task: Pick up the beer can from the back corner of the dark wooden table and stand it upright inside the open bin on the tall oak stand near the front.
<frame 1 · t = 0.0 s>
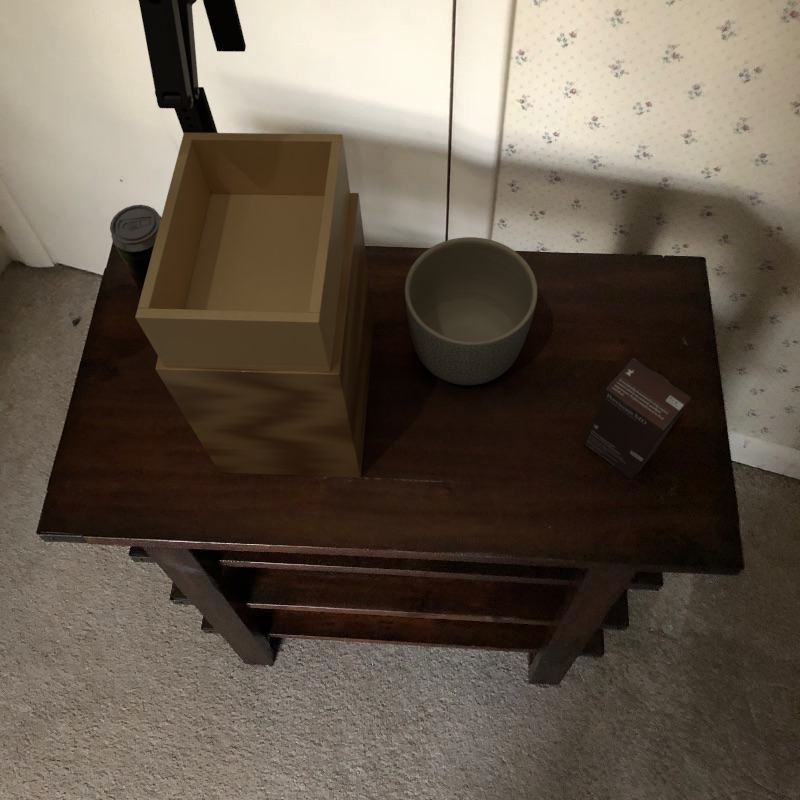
hand: (219, 98, 70), 21 cm above the table, tool pointing down, fingers open, 13 cm apart
planter: (466, 351, 81), on the table
open bin: (263, 275, 61), resting on stand
box: (617, 450, 75), on the table
stand: (300, 394, 79), on the table
beer can: (171, 297, 86), on the table
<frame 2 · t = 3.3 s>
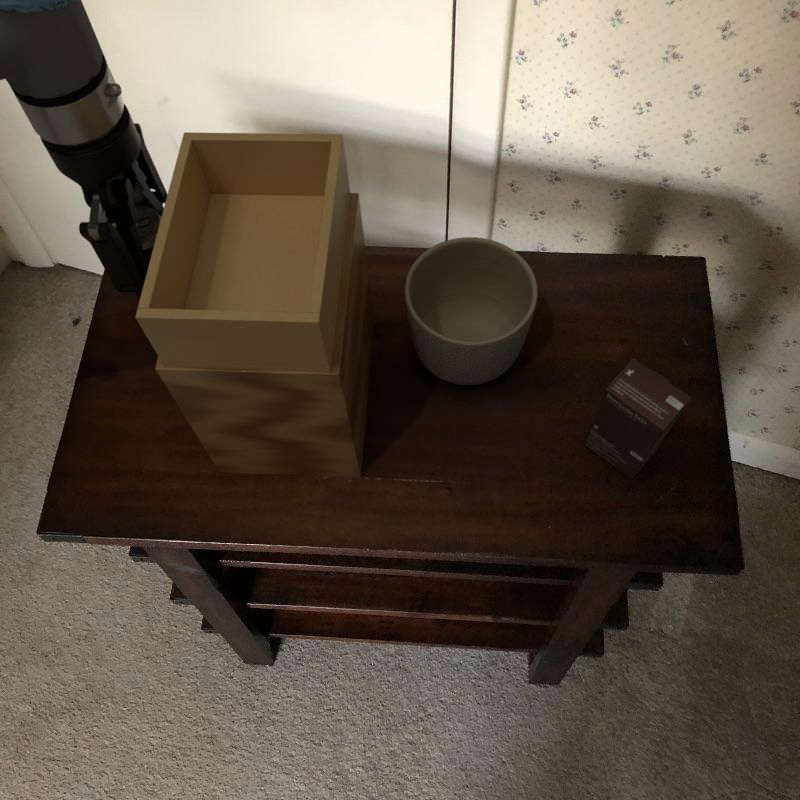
hand: (166, 286, 84), 2 cm above the table, tool pointing down, fingers closed on beer can, 5 cm apart
beer can: (171, 297, 86), on the table, touching gripper
everything else where it was.
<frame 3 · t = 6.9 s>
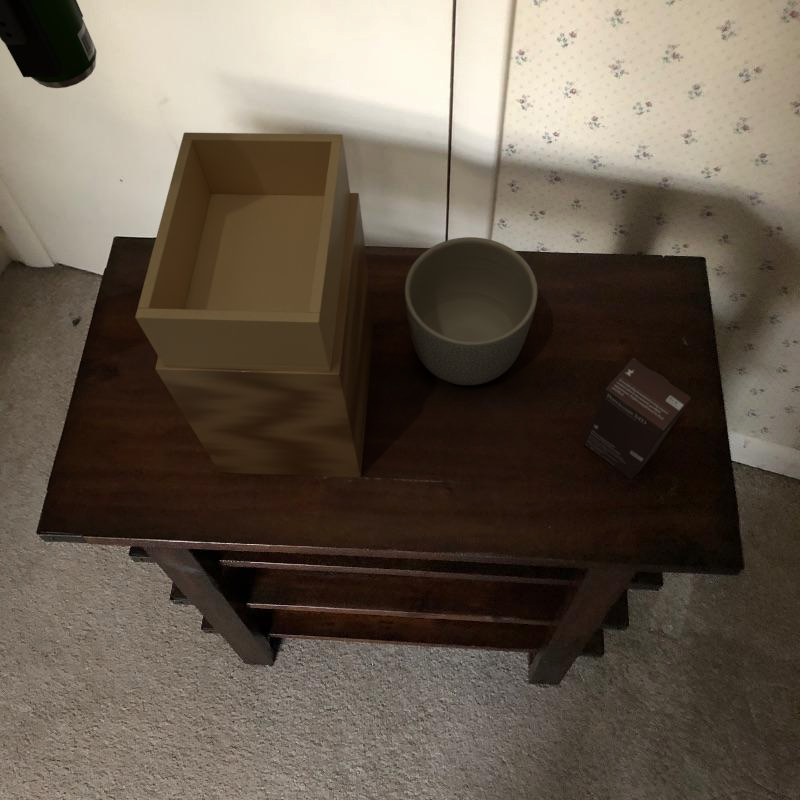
hand: (53, 45, 56), 33 cm above the table, tool pointing down, fingers closed on beer can, 5 cm apart
beer can: (65, 69, 58), point 31 cm above the table, touching gripper
everything else where it was.
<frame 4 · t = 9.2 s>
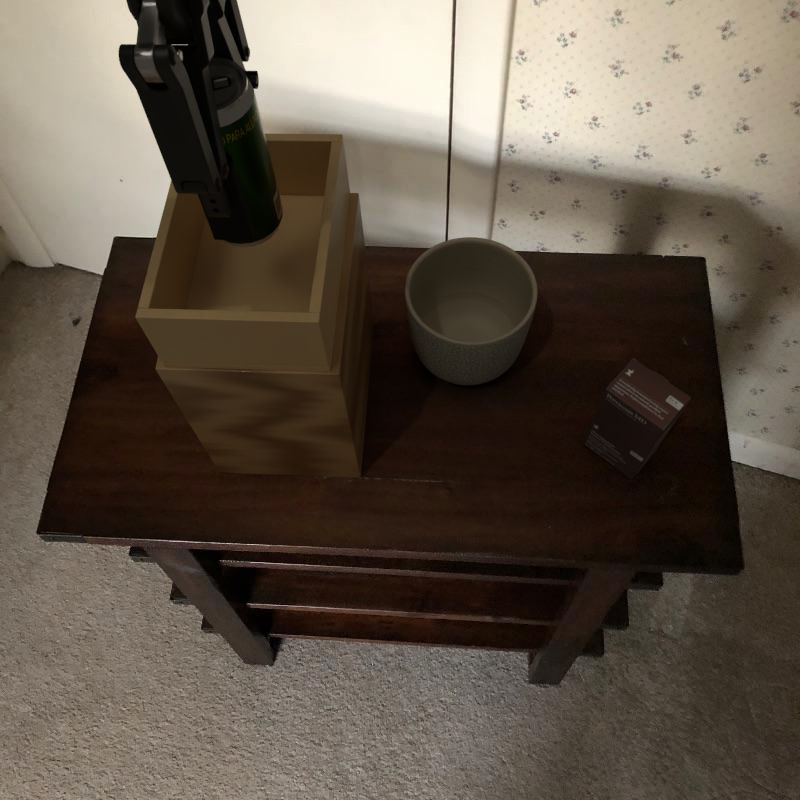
hand: (241, 202, 54), 28 cm above the table, tool pointing down, fingers closed on beer can, 5 cm apart
beer can: (248, 223, 56), point 26 cm above the table, touching gripper
everything else where it was.
when the fingers open (23 cm above the table, at t = 10.8 s): beer can stays where it is, resting on open bin.
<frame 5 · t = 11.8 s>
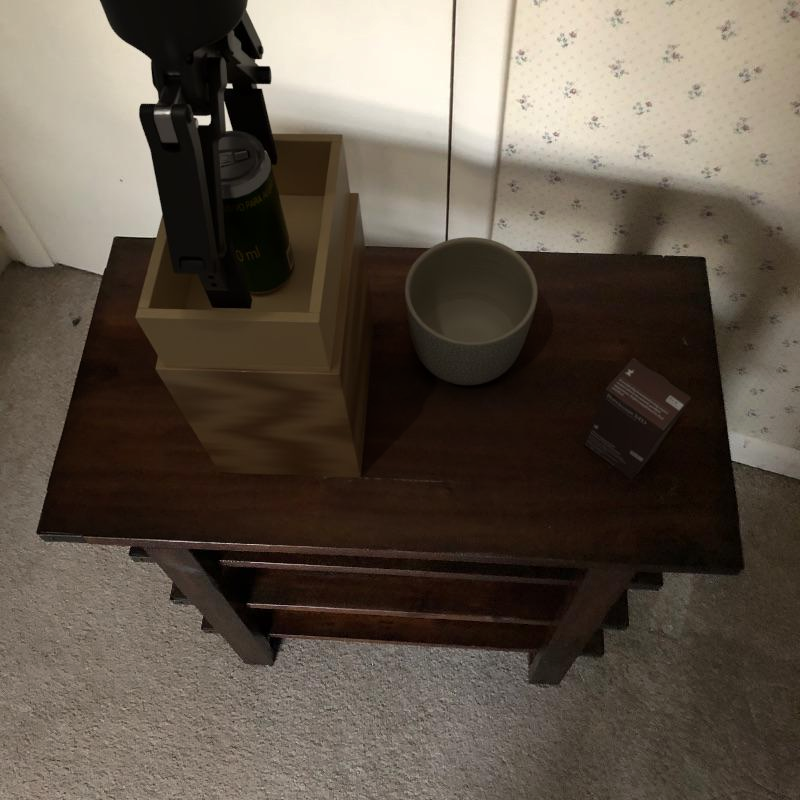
hand: (247, 228, 57), 26 cm above the table, tool pointing down, fingers open, 13 cm apart
beer can: (262, 272, 61), point 20 cm above the table, touching open bin
everything else where it was.
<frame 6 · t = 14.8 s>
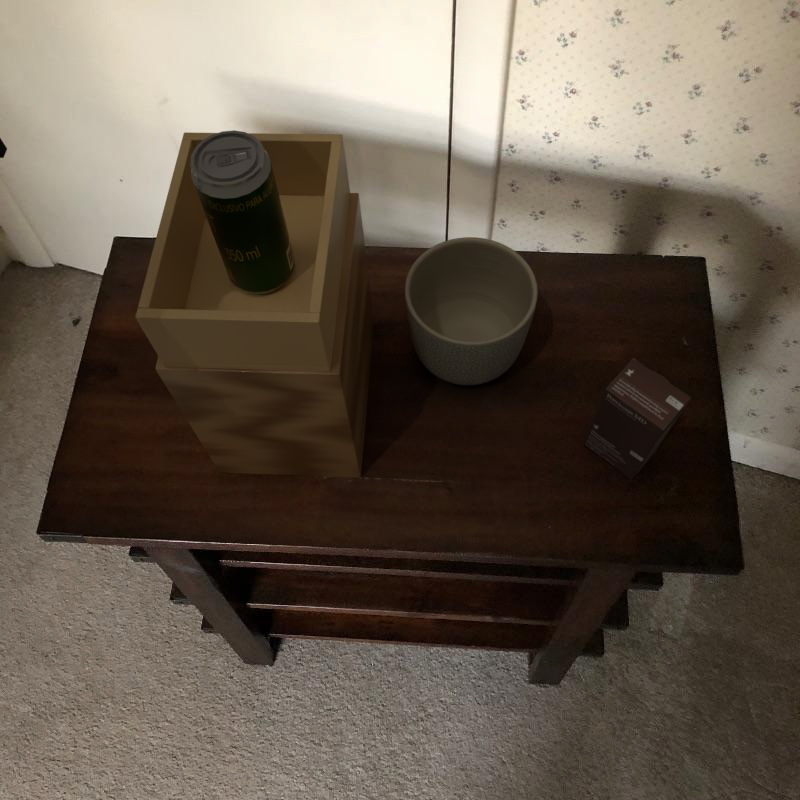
nothing on the table moved.
at the end: beer can inside the target area on the open bin (0.1 cm from its centre), point 0.4 cm above the open bin's base; beer can tilted 0°; the gripper is holding nothing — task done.
